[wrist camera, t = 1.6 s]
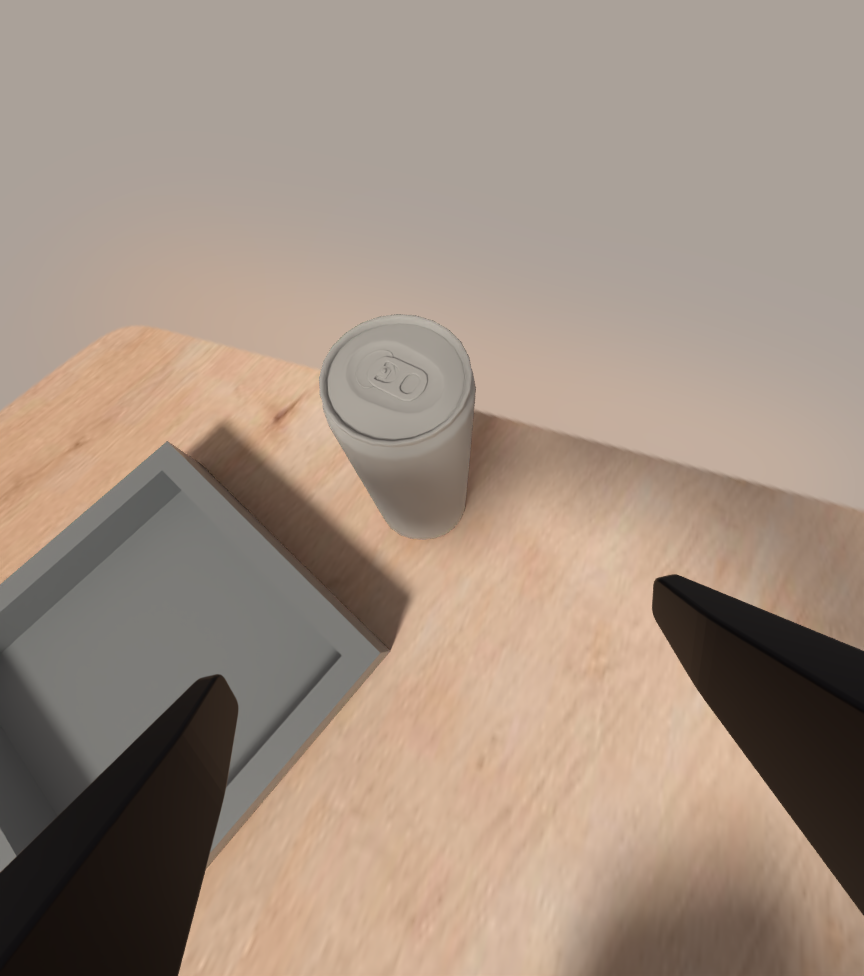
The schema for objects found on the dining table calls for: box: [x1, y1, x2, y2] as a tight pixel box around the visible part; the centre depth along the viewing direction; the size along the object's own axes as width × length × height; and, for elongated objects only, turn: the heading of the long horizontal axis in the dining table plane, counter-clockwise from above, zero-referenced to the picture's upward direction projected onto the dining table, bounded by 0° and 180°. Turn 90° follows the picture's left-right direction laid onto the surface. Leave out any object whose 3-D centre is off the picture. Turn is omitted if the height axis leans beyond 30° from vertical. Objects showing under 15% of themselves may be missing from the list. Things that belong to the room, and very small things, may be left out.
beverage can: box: [319, 314, 476, 540], centre depth 18 cm, size 5×5×12 cm
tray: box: [0, 441, 390, 872], centre depth 20 cm, size 16×16×3 cm
